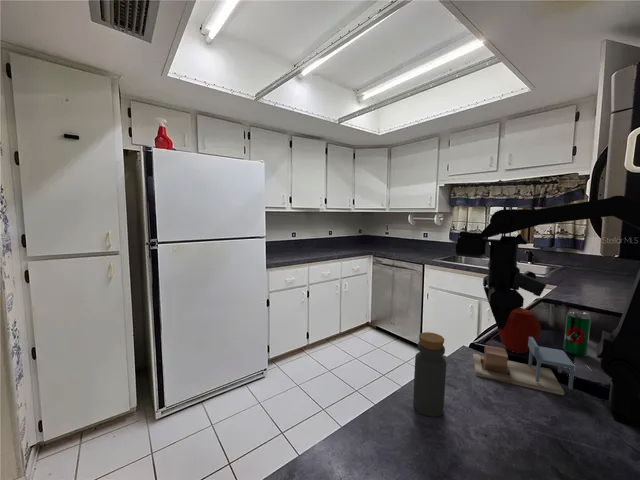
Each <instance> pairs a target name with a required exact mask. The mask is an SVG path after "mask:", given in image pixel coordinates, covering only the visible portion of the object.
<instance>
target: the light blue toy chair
mask: <svg viewBox="0 0 640 480" xmlns="http://www.w3.org/2000/svg"><path fill="white" fill-rule="evenodd" d="M528 347H529V348H530V351H528V352H529V354H528V366H529V367H532V365H533V357H534V358H535V360H536V366H537V369H536V379H535V381H536V382H539V380H540V370H541V366H542V364H545V365H550V366H554V367H557V373H559V374H562V373H563V372H562V371H563V368H562V367H564V368H569V369H570V374H569V377H568V382H567V383H568V384H567V387H568V389H569V390H572V391H573V389H574V380H575V378H574V371H575V365H574V364H575V363H574V362H573V361H572V360H571V359H570V358H569V356H568V355H567V353H566V351H565V350H564V349H563V350H561V349H556V348H551V347H545V346H539V345H538V342H537V343H536V342H535V340H534V338H533V337H529V340H528ZM573 363H574V364H573Z"/></svg>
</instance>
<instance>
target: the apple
mask: <svg viewBox="0 0 640 480" xmlns="http://www.w3.org/2000/svg"><path fill="white" fill-rule="evenodd" d="M541 326H542V325H541V323H540V321H539V319H538V318H537V317H536V315H535V314H534V313H533V312H532V311H531V310H529V309H526V308H523V307H520V308H519V309H515V310H513V311H511V313H510V315H509V318H508V320H507V323H506V325H505V327H504V330H500V329H498V328H497V332H498V335H499V339H500V341H501V343H502V345H503V346H504V347H505V349H507V350H508V349H509V350H511V351H514V352H518V353H517V354H524V353H528V352H530V348H529V347H528V340H529V337H533V338H534V340H535V342H536V343H537V344H538V341H539V339H540V336H541V329H542V327H541ZM509 350H508V351H509ZM511 351H510V352H511ZM514 352H513V353H514Z"/></svg>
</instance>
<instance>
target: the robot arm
mask: <svg viewBox="0 0 640 480" xmlns="http://www.w3.org/2000/svg"><path fill="white" fill-rule="evenodd" d="M607 217H614V218H616V219H618V220H620V221H622V222H624V223H626V224H627V225H629V226H631V227H633V228H635V229H637V230H640V203H637V202H636V201H633V200H632V199H631V198H629V197H628V196H625V195H613V196H610V197H607V198H601V199H597V200H596V199H594V200H588V201H582V202H576V203H575V202H574V203H568V204H562V205H556V206H547V207H543V208H529V209H528V208H527V209H526V208H525V209H524V208H522V209H521V208H519V209H518V208H517V209H510V208H509V209H508V208H507V209H500V210H496V211H495V212H494V213H493V214H491V217H490V219H489V224H488V225H487V226H486V227H485V228H484V229H483V230H482V231H481V232H474V231H473V232H471V231H466V230H463V231H460V232H459V236H458V238H457V241H456V243H455V254H456V256H457V257H462V258H469V259H478V260H480V259H481V260H482V259H483V258H484V256H488V255H489V259H488V263H487V268H488V272H487V273H488V275H485V276H484V277H483V280H482V285H483V290H484V293H485V295H486V299H487V302H488V305H489V307H490V310H491V313H492V317H493V318H494V321H495V325H496V327H497V330H498V329H500V330H504V327H505V325H506V323H507V320H508V318H509V315H510V313H511V311H513V310H515V309H519V308H523V307H524V301H525V298H524V296H522V294H521V293H520V292H519V290H520V289H522V290H524V291H527V292H529V293H531V294H533V295H534V296H537V297H541V296H542V293H543V292H544V290H545V288H546V287H547V283H545V282H544V281H542V280H540V279H539V278H537V274H536V273H535V272H534V271H530V270H526V271H524V272H521V269H520V267H518V255H519V245H527V244H529V243H530V241H529V240H528V239H527V238H526V237H525V236H524V234H522V233H518V234H517V235H516V236H515V235H514V236H511V235H507V234H511V233H514V232H519V231H522V230H523V231H524V230H526V229H530V228H534V227H537V226H542V225H543V226H544V225H549V224H559V223H564V222H565V223H567V222H575V221H581V220H588V219H589V220H590V219H591V220H592V219H599V218H607ZM499 235H502V236H500V238H498V239H493V238H492V237H496V236H499ZM595 347H596V358H597V359H599V363H600V367H601V370H602V371H603V372H604V374H605V375H607V376H608V377H609V378H611V379H610V380H611V382H610V387H609V388H610V389H609V396H608V400H607V399H603V398H600V403H601V405H602V406H603V407H604V409H605V410H606V411H607V413H608V414H609V415H610V417H611V418H612V419H613V420H614V421H615V422H619V423H622V424H627V425H631V426H635V427H639V428H640V268H639V270H638V272H637V275H636V277H635V280H634V283H633V286H632V288H631V291H630V294H629V296H628V299H627V301H626V304H625V307H624V309H623V312H622V314H621V318H620V320H619V323H618V325H617V327H616V328H615V329H614V330H613V331H612V332H611V333H610V332H607V331H605V330H601V337H600V341H599V343H598V344H596V345H595Z"/></svg>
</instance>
